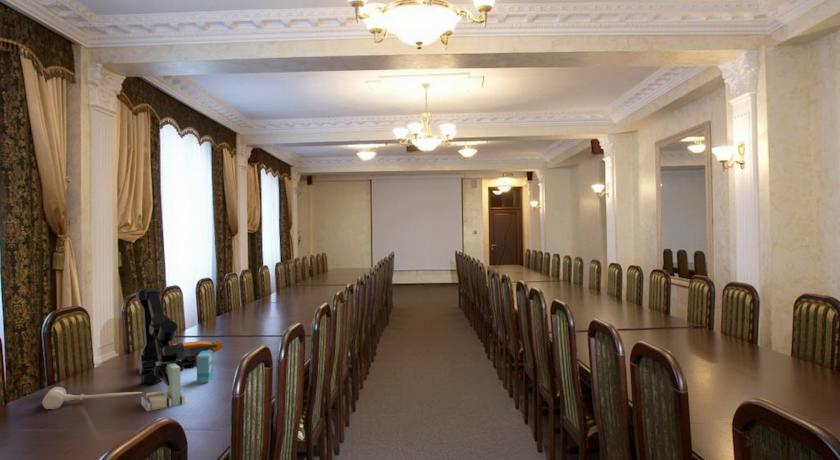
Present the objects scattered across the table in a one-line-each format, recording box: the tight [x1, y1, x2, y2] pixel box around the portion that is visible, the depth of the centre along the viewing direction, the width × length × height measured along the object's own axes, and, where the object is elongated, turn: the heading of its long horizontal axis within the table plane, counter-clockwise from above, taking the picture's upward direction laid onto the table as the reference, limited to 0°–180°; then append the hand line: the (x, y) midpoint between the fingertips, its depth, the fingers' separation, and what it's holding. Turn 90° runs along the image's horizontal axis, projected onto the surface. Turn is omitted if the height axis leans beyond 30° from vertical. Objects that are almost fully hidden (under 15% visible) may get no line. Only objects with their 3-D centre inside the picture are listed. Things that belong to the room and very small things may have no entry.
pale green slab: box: [166, 363, 181, 406], centre depth 187 cm, size 8×2×13 cm, turn 39°
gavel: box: [42, 386, 143, 410], centre depth 192 cm, size 10×6×32 cm
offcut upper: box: [145, 390, 167, 404], centre depth 184 cm, size 8×5×2 cm, turn 39°
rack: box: [140, 392, 188, 412], centre depth 186 cm, size 10×13×4 cm
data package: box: [196, 351, 214, 384], centre depth 217 cm, size 12×4×12 cm, turn 14°
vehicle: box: [166, 339, 225, 372], centre depth 244 cm, size 14×34×10 cm, turn 125°
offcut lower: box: [150, 401, 167, 410], centre depth 184 cm, size 8×5×2 cm, turn 39°
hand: (172, 384), depth 188 cm, fingers closed on pale green slab, 2 cm apart
